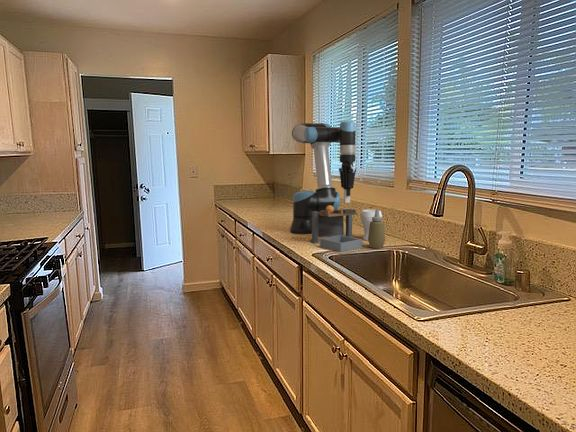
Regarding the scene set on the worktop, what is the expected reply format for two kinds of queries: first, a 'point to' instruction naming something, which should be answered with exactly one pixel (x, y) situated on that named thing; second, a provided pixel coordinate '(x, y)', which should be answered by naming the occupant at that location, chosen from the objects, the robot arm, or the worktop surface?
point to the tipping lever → (332, 222)
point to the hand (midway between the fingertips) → (346, 202)
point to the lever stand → (315, 227)
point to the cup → (367, 220)
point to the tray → (340, 243)
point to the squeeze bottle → (376, 231)
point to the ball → (330, 208)
